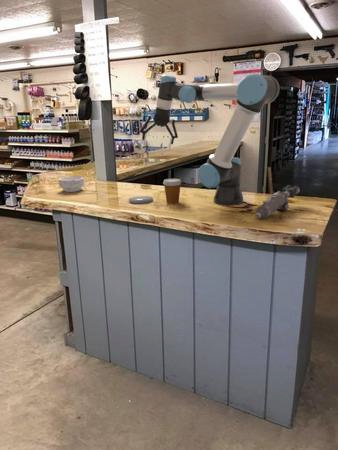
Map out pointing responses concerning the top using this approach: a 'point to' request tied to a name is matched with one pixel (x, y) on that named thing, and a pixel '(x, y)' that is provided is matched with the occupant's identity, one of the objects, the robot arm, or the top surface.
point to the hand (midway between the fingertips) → (156, 148)
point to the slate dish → (140, 200)
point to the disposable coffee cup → (172, 190)
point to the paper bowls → (71, 183)
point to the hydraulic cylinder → (276, 201)
